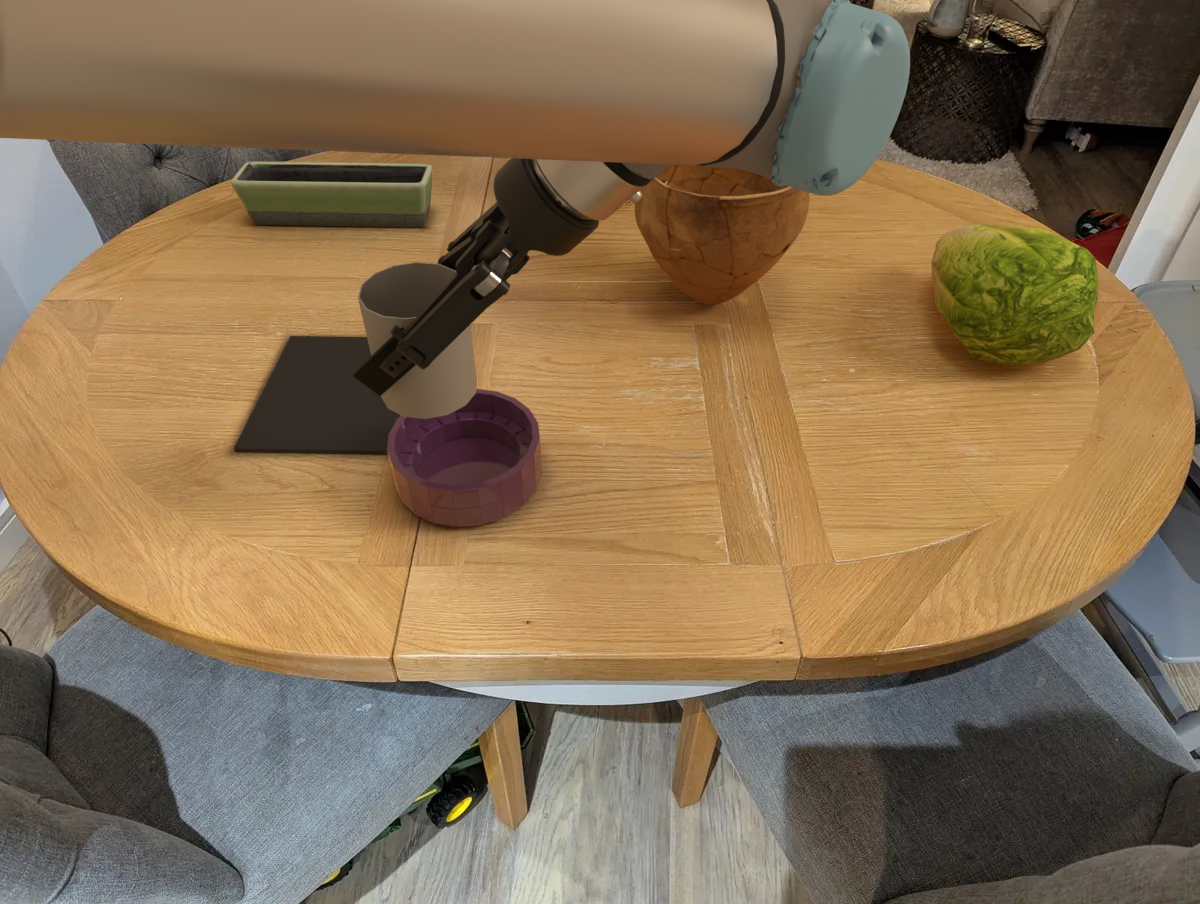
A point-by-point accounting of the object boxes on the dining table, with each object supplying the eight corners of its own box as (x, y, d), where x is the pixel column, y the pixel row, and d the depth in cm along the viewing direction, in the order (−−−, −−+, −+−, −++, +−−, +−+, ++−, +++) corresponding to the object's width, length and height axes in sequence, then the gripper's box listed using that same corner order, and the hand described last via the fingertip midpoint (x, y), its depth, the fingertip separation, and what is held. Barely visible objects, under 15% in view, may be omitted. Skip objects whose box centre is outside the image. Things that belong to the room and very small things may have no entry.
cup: (492, 399, 70) (481, 300, 63) (401, 430, 67) (379, 330, 60) (454, 349, 75) (440, 253, 68) (368, 376, 72) (345, 278, 65)
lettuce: (1007, 279, 111) (1023, 175, 102) (1116, 369, 91) (1148, 251, 82) (884, 303, 111) (890, 202, 102) (968, 398, 91) (984, 283, 83)
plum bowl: (453, 555, 74) (445, 514, 70) (369, 473, 81) (358, 433, 77) (570, 479, 81) (569, 438, 77) (483, 410, 88) (478, 370, 85)
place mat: (389, 454, 83) (388, 450, 83) (234, 452, 83) (233, 448, 83) (422, 341, 98) (422, 337, 98) (291, 339, 98) (290, 335, 98)
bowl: (804, 346, 98) (839, 189, 84) (637, 350, 97) (645, 192, 83) (769, 258, 113) (794, 113, 99) (625, 261, 112) (629, 115, 98)
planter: (439, 209, 123) (433, 162, 118) (431, 232, 117) (424, 184, 113) (259, 206, 123) (245, 160, 118) (243, 229, 118) (228, 182, 113)
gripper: (585, 298, 50) (382, 461, 63) (619, 157, 66) (450, 311, 78) (494, 214, 47) (299, 403, 60) (552, 87, 62) (387, 258, 75)
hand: (385, 350), depth 69 cm, fingers closed on cup, 8 cm apart
